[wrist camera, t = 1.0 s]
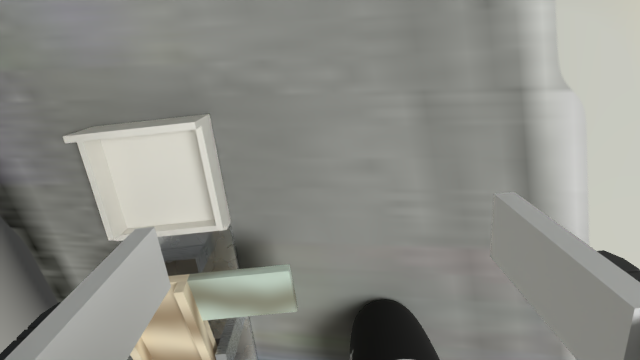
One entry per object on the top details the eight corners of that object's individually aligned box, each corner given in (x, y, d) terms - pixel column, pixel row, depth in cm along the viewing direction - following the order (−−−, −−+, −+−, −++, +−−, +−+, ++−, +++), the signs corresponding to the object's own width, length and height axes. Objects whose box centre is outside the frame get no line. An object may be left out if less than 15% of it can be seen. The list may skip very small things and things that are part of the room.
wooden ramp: (110, 274, 33) (87, 312, 29) (289, 256, 32) (287, 293, 29) (178, 400, 43) (166, 439, 39) (315, 388, 43) (315, 426, 39)
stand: (127, 236, 39) (83, 278, 32) (231, 225, 39) (210, 265, 32) (173, 388, 46) (146, 453, 38) (262, 380, 46) (251, 443, 38)
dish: (93, 126, 35) (62, 136, 31) (209, 113, 35) (194, 121, 31) (125, 232, 39) (102, 253, 35) (231, 221, 39) (220, 242, 34)
